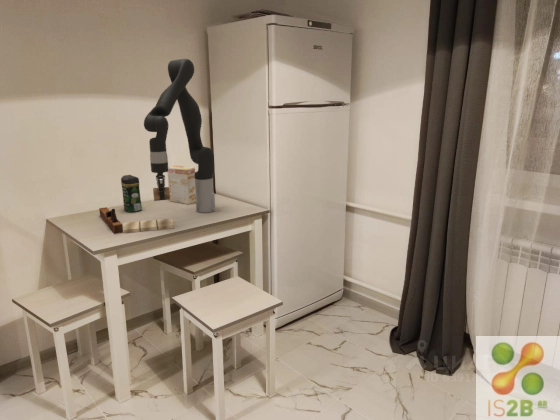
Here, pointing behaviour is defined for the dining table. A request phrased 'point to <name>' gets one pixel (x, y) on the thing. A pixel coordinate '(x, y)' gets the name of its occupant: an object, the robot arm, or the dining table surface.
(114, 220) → the hand plane
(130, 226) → the board
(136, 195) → the coffee jar
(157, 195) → the block
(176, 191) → the coffeecake box
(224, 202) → the dining table surface
